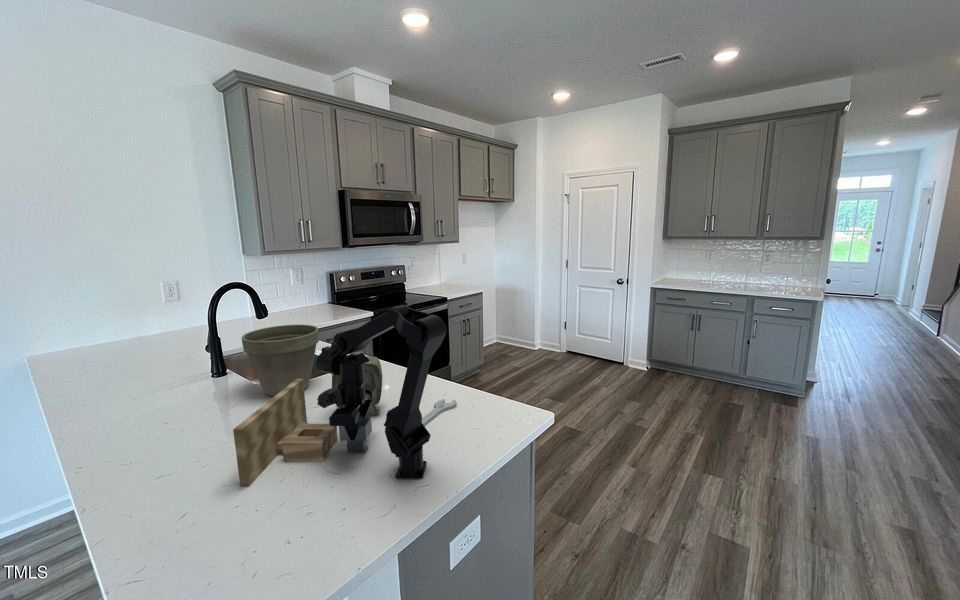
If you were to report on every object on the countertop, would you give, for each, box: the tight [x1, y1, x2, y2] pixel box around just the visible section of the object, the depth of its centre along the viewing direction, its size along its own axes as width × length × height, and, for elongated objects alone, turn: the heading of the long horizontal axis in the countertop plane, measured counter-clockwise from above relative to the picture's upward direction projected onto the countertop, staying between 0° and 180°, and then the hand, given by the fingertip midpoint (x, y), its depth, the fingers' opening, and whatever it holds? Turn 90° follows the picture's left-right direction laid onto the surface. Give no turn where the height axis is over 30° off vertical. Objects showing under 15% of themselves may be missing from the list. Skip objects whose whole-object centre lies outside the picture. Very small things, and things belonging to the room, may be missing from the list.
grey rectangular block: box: [338, 416, 373, 454], centre depth 104 cm, size 5×7×8 cm
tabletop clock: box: [331, 350, 383, 416], centre depth 124 cm, size 14×9×25 cm, turn 101°
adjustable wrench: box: [422, 398, 457, 427], centre depth 123 cm, size 25×6×2 cm, turn 149°
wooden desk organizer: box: [232, 379, 339, 487], centre depth 104 cm, size 30×15×14 cm, turn 179°
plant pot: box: [241, 324, 320, 397], centre depth 144 cm, size 25×25×22 cm
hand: (356, 434), depth 104 cm, fingers closed on grey rectangular block, 5 cm apart
